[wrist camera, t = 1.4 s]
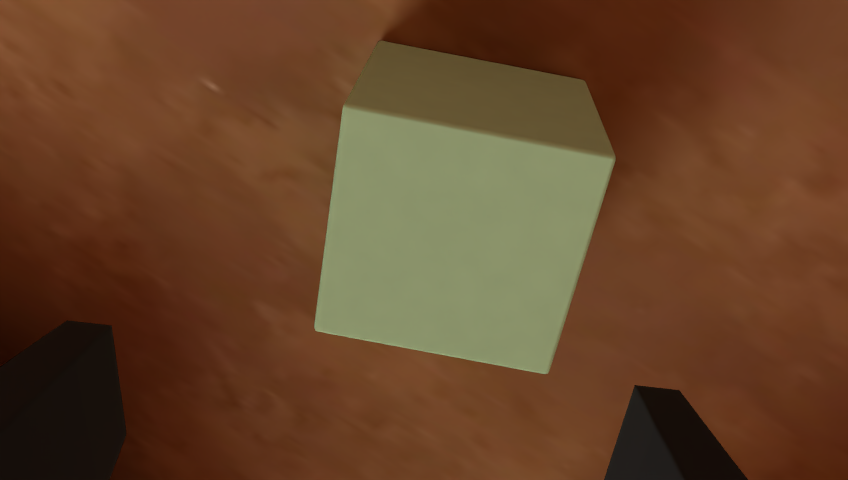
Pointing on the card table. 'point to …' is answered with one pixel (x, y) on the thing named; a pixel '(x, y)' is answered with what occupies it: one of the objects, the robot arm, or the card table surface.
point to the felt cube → (461, 207)
